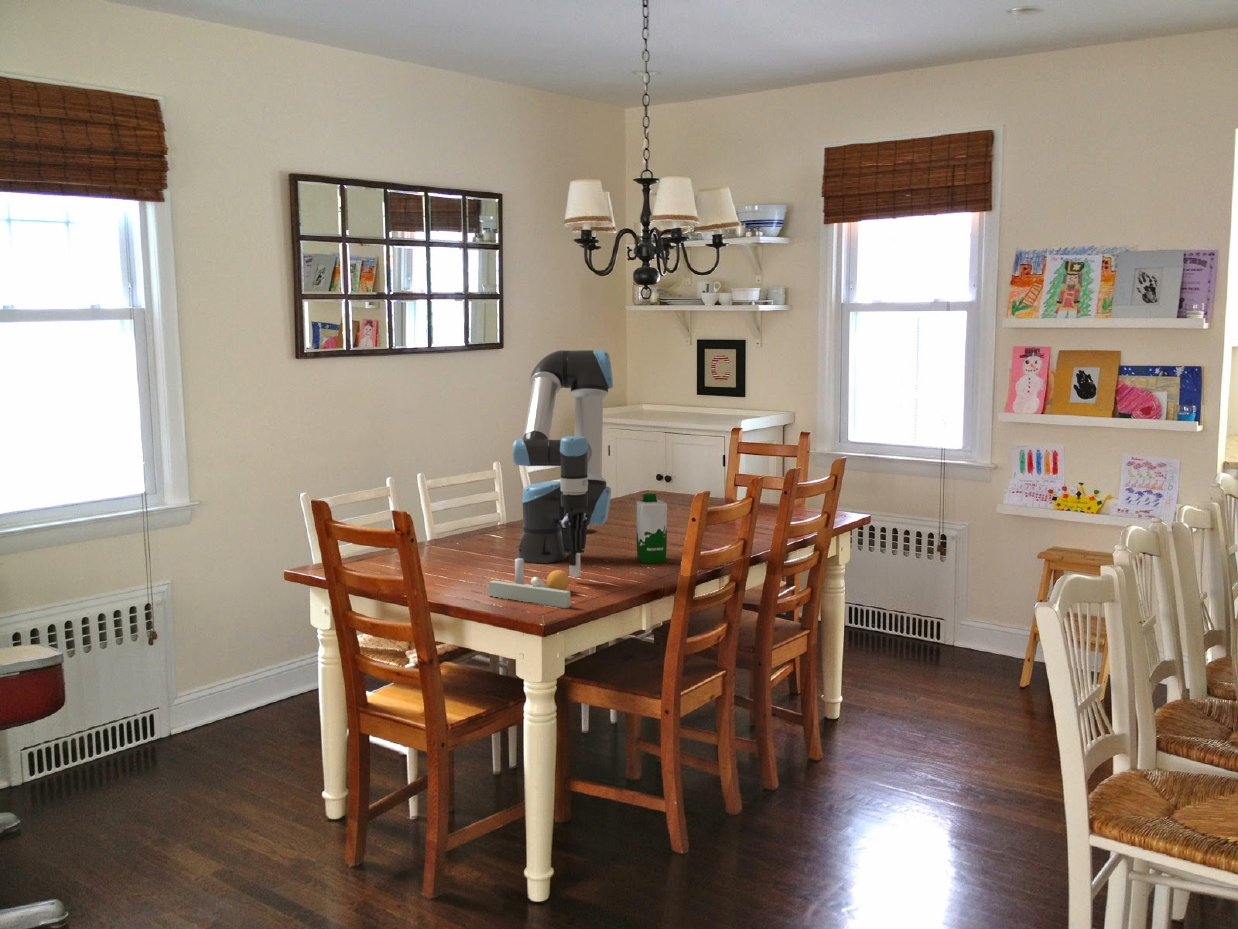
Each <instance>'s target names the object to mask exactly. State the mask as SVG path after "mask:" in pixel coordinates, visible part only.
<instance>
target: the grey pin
mask: <svg viewBox="0 0 1238 929" xmlns="http://www.w3.org/2000/svg"><path fill="white" fill-rule="evenodd" d="M514 579H515V580H514V583H515V584H522V585H525V562H524V559H523V558H518V557H517V558H515V559H514Z"/></svg>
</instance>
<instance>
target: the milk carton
mask: <svg viewBox="0 0 1238 929" xmlns="http://www.w3.org/2000/svg"><path fill="white" fill-rule="evenodd" d="M635 504H636V556H637V557H636V558H637V559H638V561H640V562H641V563H643V564H659V563H667V551H668V550H667V548H668V547H667V545H668V544H667V542H668V537H667V536H668V532H667V531H668V530H667V529H668V526H667V525H668V503H666V502H665V501H663V500H660V499H657V494H656V493H644V494H642V500H641V499H640V500H636V503H635Z"/></svg>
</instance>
